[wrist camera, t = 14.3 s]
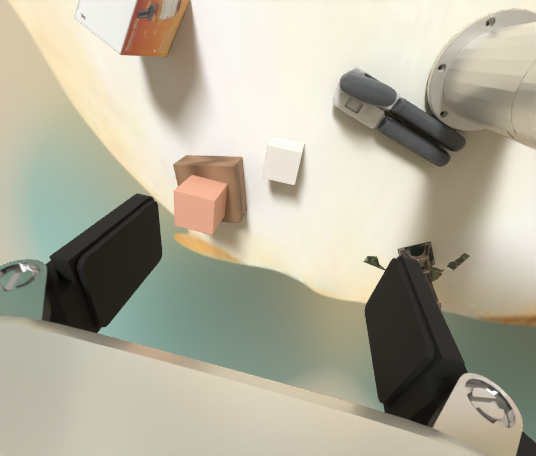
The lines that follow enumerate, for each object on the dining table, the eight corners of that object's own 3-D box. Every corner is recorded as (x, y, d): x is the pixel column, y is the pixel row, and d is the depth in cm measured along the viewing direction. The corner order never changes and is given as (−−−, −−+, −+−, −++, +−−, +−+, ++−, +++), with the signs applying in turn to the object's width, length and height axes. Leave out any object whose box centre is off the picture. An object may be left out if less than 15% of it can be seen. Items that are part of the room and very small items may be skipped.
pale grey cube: (304, 143, 41) (302, 152, 36) (297, 173, 43) (294, 185, 39) (273, 136, 41) (267, 145, 37) (268, 166, 44) (262, 177, 40)
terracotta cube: (227, 183, 41) (214, 200, 36) (224, 215, 45) (212, 235, 40) (191, 174, 42) (173, 190, 37) (191, 206, 45) (174, 225, 40)
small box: (167, 57, 37) (120, 58, 29) (132, 28, 36) (72, 19, 28) (192, -2, 33) (145, -23, 25) (153, -38, 32) (90, -73, 23)
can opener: (326, 99, 37) (326, 106, 32) (348, 61, 34) (352, 61, 29) (434, 165, 39) (451, 182, 34) (463, 135, 36) (487, 148, 31)
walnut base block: (242, 156, 44) (234, 166, 40) (247, 208, 49) (240, 222, 45) (186, 154, 45) (173, 164, 41) (197, 205, 51) (185, 219, 47)
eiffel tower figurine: (361, 259, 51) (371, 315, 40) (393, 219, 45) (415, 271, 34) (430, 288, 52) (458, 350, 41) (469, 252, 46) (515, 313, 35)
